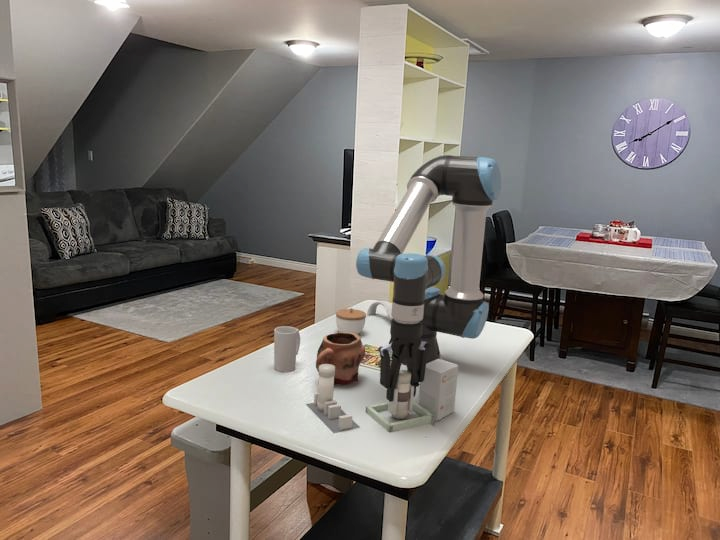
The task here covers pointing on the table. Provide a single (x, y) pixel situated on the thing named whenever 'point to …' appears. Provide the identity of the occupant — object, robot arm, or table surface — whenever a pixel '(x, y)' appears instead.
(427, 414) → the parts tray
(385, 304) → the grey curved piece
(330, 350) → the decorative planter
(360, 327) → the lidded jar
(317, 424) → the table surface
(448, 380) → the small box
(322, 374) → the holder
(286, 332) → the mug
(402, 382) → the light bulb
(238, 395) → the table surface
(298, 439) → the table surface
